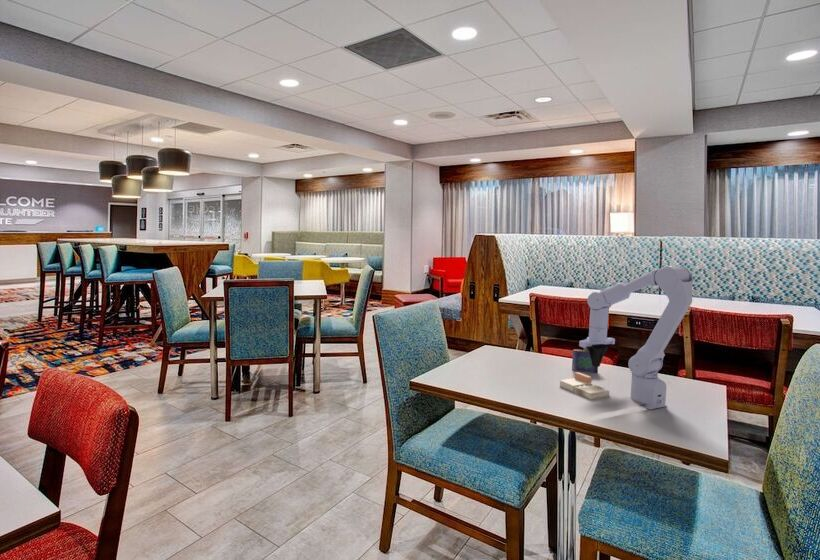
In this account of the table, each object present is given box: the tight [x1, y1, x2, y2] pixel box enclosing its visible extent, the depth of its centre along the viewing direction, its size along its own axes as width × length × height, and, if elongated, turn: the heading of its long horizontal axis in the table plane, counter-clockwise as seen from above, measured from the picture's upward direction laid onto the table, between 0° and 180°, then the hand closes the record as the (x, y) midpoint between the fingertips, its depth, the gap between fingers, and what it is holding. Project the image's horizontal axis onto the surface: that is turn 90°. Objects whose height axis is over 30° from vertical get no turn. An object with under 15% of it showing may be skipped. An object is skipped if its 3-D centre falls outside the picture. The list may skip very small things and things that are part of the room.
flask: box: [571, 347, 599, 374], centre depth 173 cm, size 9×3×11 cm, turn 65°
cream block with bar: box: [559, 371, 593, 393], centre depth 154 cm, size 6×8×4 cm
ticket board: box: [573, 383, 610, 400], centre depth 149 cm, size 16×20×3 cm
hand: (595, 365), depth 157 cm, fingers closed
